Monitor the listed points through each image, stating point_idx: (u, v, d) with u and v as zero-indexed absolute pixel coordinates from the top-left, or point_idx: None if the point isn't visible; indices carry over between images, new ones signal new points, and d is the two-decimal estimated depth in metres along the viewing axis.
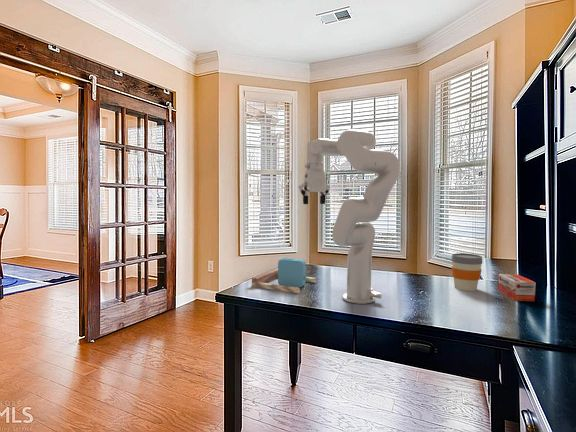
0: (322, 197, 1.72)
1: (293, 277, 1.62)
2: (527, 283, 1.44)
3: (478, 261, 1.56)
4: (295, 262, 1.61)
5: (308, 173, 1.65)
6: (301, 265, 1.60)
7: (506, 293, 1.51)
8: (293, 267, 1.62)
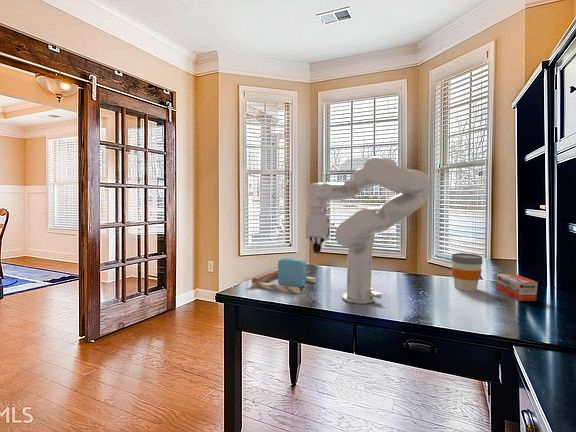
0: None
1: (293, 277, 1.62)
2: (530, 283, 1.44)
3: (478, 261, 1.56)
4: (295, 262, 1.61)
5: (328, 218, 1.57)
6: (301, 265, 1.60)
7: (507, 293, 1.51)
8: (293, 267, 1.62)
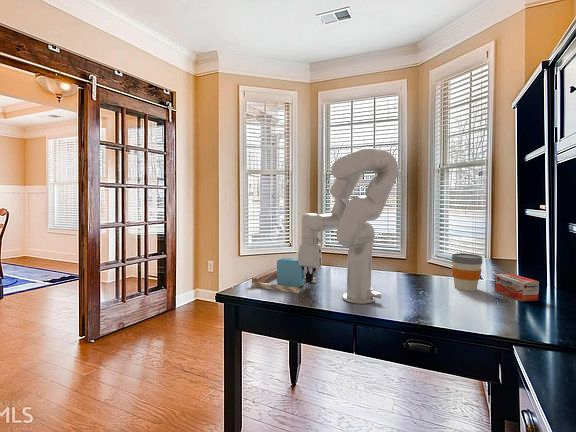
0: None
1: (292, 277, 1.62)
2: (532, 283, 1.44)
3: (478, 261, 1.56)
4: (294, 262, 1.61)
5: (320, 248, 1.59)
6: (300, 265, 1.60)
7: (508, 294, 1.50)
8: (291, 267, 1.62)
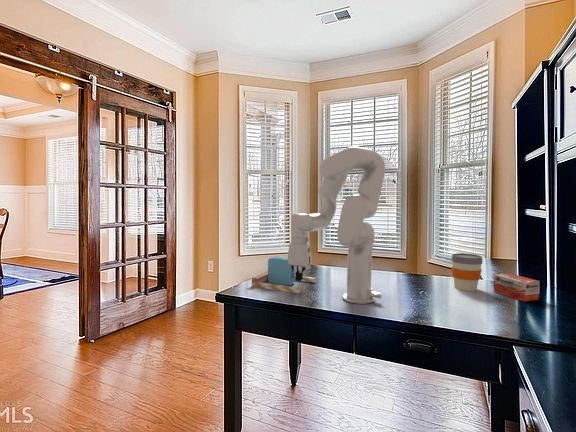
0: None
1: (282, 276, 1.65)
2: (534, 282, 1.45)
3: (478, 261, 1.56)
4: (283, 261, 1.64)
5: (309, 247, 1.61)
6: (289, 264, 1.63)
7: (509, 294, 1.50)
8: (281, 266, 1.64)
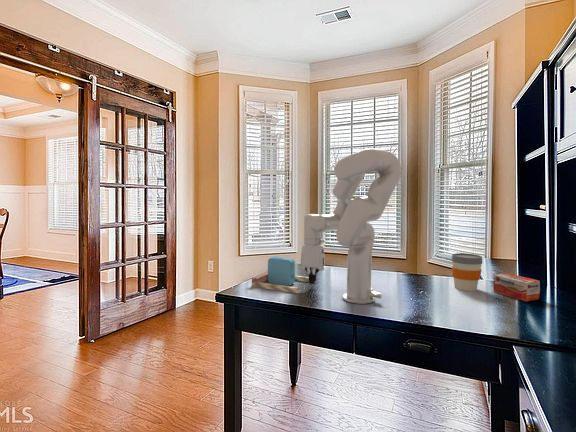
0: None
1: (282, 276, 1.65)
2: (534, 282, 1.45)
3: (478, 261, 1.56)
4: (283, 261, 1.64)
5: (323, 248, 1.59)
6: (289, 264, 1.63)
7: (510, 294, 1.50)
8: (281, 266, 1.64)
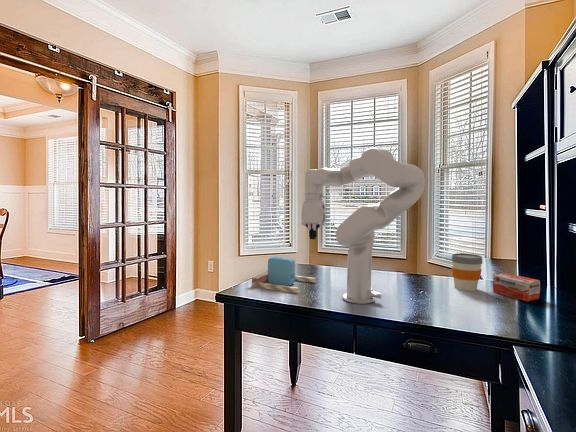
0: None
1: (282, 276, 1.65)
2: (535, 282, 1.45)
3: (478, 261, 1.56)
4: (283, 261, 1.64)
5: None
6: (289, 264, 1.63)
7: (511, 294, 1.50)
8: (281, 266, 1.64)
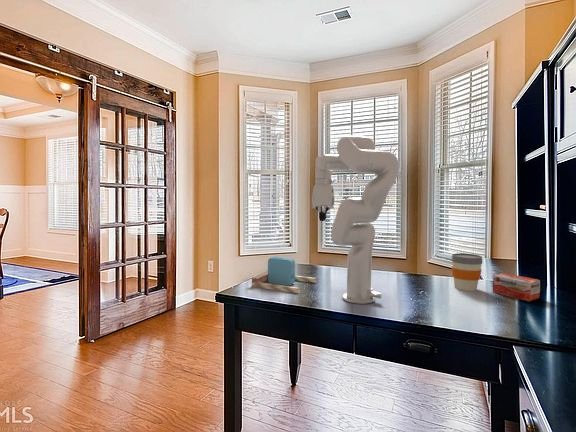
0: None
1: (282, 276, 1.65)
2: (536, 282, 1.46)
3: (478, 261, 1.56)
4: (283, 261, 1.64)
5: None
6: (289, 264, 1.63)
7: (512, 294, 1.50)
8: (281, 266, 1.64)
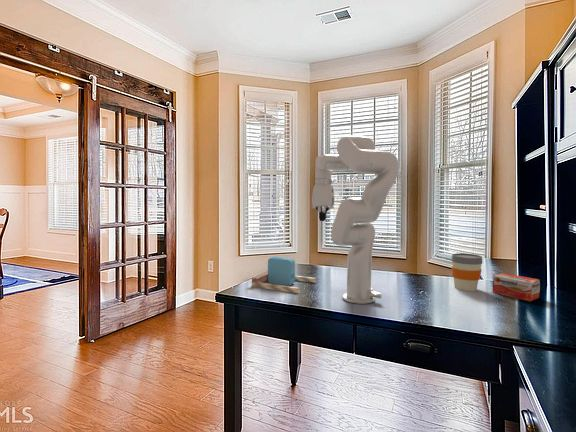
0: None
1: (282, 276, 1.65)
2: (536, 282, 1.46)
3: (478, 261, 1.56)
4: (283, 261, 1.64)
5: None
6: (289, 264, 1.63)
7: (512, 294, 1.50)
8: (281, 266, 1.64)
